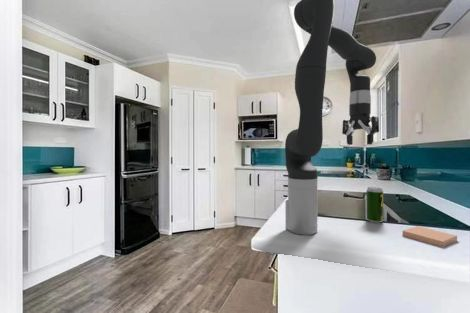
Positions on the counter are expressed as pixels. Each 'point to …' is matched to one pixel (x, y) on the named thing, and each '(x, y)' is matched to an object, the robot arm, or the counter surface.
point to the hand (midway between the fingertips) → (359, 144)
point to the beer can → (374, 204)
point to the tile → (430, 236)
